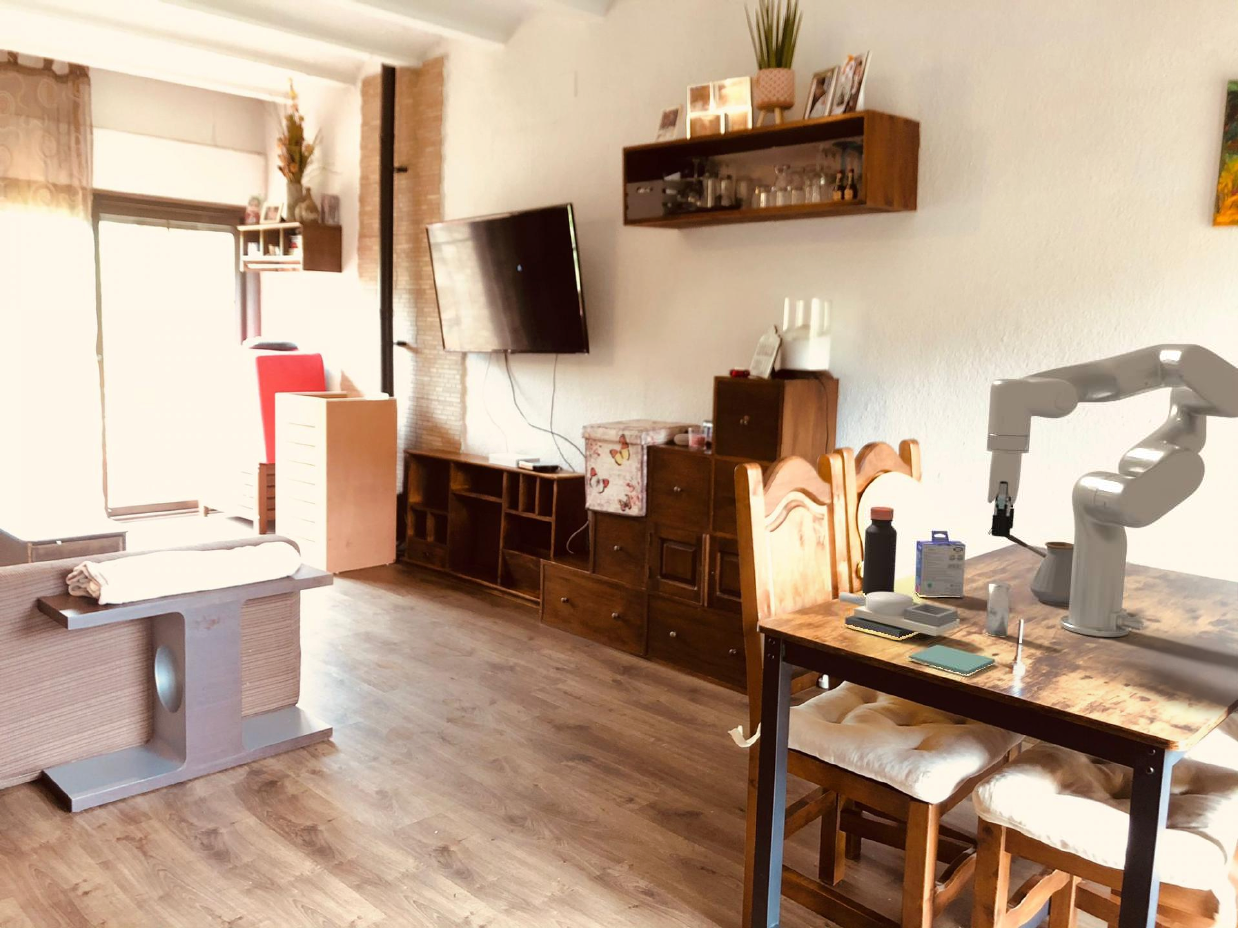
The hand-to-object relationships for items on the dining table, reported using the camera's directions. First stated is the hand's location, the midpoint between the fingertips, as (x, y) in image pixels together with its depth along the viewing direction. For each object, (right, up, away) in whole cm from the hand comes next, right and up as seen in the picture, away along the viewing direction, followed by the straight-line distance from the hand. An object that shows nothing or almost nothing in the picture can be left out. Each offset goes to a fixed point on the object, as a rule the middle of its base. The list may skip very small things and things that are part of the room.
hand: (1002, 531), depth 191 cm
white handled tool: (-20, -17, +4) cm, 27 cm away
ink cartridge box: (-2, -17, +32) cm, 36 cm away
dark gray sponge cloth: (-21, -20, +5) cm, 29 cm away
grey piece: (0, -20, +2) cm, 20 cm away
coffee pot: (+19, -17, +31) cm, 40 cm away
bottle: (-16, -17, +30) cm, 38 cm away
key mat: (-15, -22, -15) cm, 31 cm away
